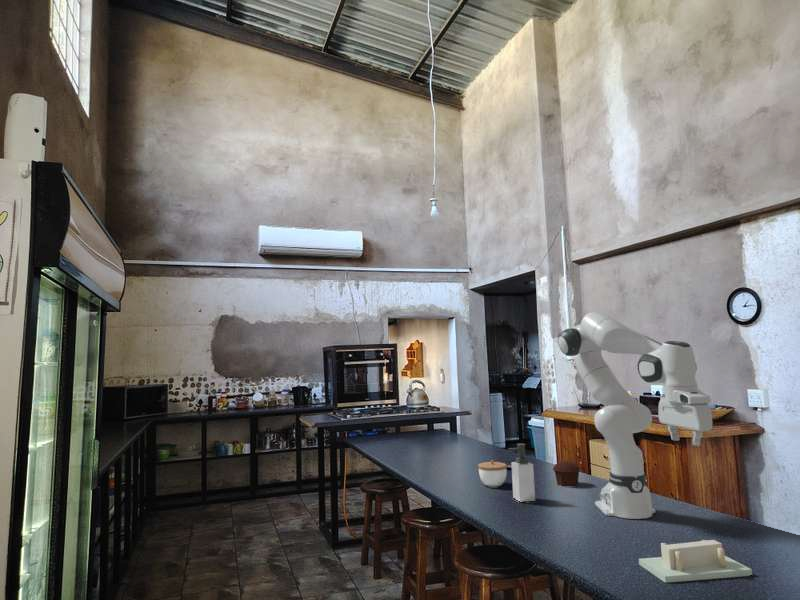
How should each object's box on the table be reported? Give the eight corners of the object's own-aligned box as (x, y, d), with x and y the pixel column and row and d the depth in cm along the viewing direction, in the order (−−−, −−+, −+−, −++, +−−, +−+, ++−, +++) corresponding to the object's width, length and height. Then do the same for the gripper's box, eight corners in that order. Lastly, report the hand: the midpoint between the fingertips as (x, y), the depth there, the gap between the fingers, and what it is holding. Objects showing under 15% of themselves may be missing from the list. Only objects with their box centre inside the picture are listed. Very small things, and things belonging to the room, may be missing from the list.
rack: (665, 582, 134) (663, 558, 135) (639, 564, 146) (637, 541, 147) (752, 575, 137) (750, 551, 137) (719, 558, 149) (717, 535, 149)
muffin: (579, 481, 239) (577, 459, 241) (583, 487, 229) (581, 464, 230) (552, 481, 241) (550, 459, 242) (554, 487, 231) (553, 464, 232)
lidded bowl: (510, 488, 231) (508, 462, 232) (481, 489, 231) (479, 463, 232) (504, 481, 244) (503, 457, 245) (477, 482, 244) (476, 457, 245)
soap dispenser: (507, 499, 214) (505, 443, 217) (528, 497, 216) (525, 442, 218) (514, 503, 208) (511, 446, 210) (535, 501, 210) (532, 444, 212)
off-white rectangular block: (670, 569, 139) (668, 549, 139) (662, 564, 142) (661, 545, 142) (723, 562, 142) (721, 543, 142) (714, 558, 145) (713, 539, 145)
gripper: (651, 393, 168) (654, 438, 166) (693, 398, 148) (698, 449, 146) (669, 392, 168) (673, 437, 167) (714, 397, 148) (719, 448, 147)
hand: (685, 442), depth 156 cm, fingers open, 8 cm apart
